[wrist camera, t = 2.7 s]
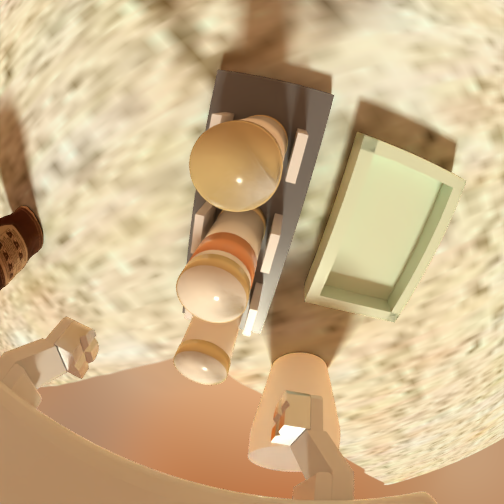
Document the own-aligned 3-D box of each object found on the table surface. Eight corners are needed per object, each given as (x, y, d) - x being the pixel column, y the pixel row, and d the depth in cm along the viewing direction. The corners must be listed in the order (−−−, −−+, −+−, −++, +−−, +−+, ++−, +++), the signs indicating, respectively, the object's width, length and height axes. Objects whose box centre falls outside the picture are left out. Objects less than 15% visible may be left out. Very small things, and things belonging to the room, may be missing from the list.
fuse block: (223, 71, 18) (202, 63, 13) (331, 95, 17) (342, 92, 13) (187, 303, 29) (170, 336, 24) (262, 323, 29) (255, 360, 24)
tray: (356, 131, 18) (364, 134, 16) (451, 172, 18) (466, 181, 16) (304, 284, 25) (304, 301, 23) (388, 305, 25) (394, 322, 23)
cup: (334, 387, 33) (335, 470, 22) (265, 388, 34) (252, 470, 24) (339, 342, 28) (346, 443, 18) (257, 344, 30) (238, 442, 20)
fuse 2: (210, 266, 24) (173, 343, 16) (252, 278, 24) (231, 360, 16) (205, 299, 26) (173, 375, 18) (244, 309, 26) (223, 390, 18)
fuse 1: (240, 109, 18) (197, 113, 10) (293, 121, 18) (292, 133, 10) (229, 159, 19) (184, 200, 12) (280, 171, 19) (269, 221, 12)
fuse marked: (223, 195, 21) (178, 255, 13) (271, 207, 21) (254, 276, 13) (215, 238, 23) (174, 311, 15) (260, 249, 23) (240, 330, 15)
